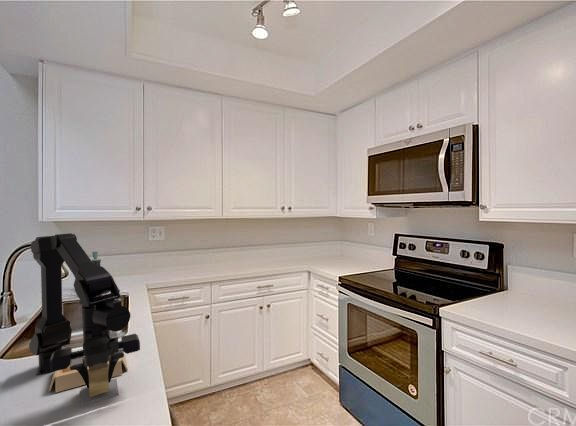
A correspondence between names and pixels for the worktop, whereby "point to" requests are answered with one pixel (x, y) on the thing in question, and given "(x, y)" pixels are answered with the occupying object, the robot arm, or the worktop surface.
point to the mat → (86, 398)
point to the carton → (78, 376)
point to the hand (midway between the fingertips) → (99, 384)
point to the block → (98, 379)
